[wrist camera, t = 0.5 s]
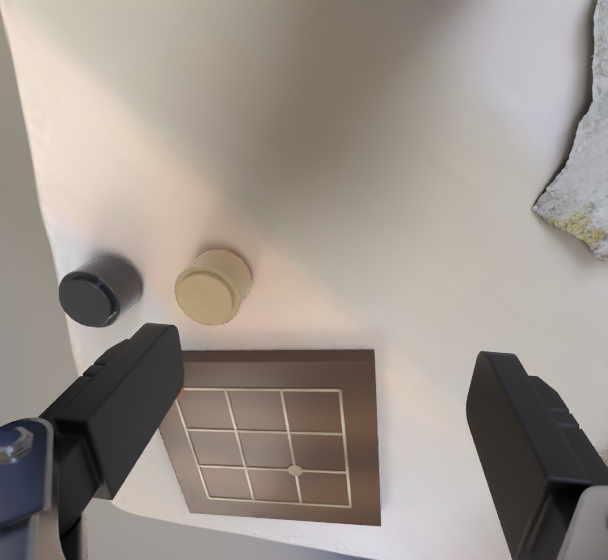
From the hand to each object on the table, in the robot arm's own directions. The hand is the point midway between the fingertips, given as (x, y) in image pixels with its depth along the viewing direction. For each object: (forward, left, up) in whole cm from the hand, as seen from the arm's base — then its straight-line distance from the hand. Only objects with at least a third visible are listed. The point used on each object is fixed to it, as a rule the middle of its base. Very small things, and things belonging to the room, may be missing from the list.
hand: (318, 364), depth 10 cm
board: (+22, -8, -17) cm, 29 cm away
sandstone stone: (+5, -9, -17) cm, 20 cm away
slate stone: (+5, -18, -17) cm, 25 cm away
